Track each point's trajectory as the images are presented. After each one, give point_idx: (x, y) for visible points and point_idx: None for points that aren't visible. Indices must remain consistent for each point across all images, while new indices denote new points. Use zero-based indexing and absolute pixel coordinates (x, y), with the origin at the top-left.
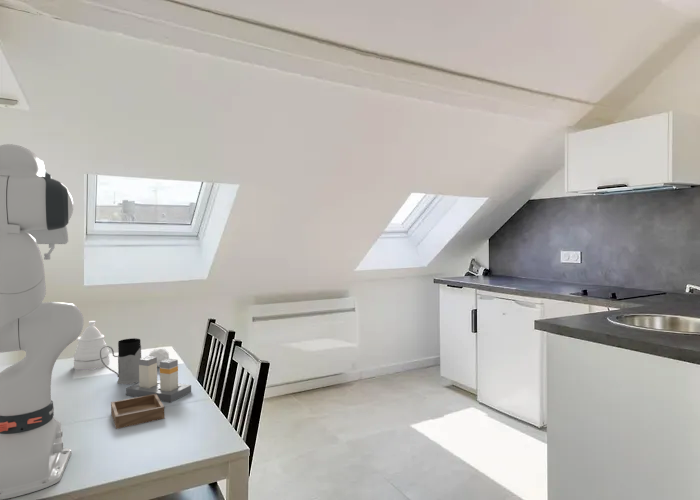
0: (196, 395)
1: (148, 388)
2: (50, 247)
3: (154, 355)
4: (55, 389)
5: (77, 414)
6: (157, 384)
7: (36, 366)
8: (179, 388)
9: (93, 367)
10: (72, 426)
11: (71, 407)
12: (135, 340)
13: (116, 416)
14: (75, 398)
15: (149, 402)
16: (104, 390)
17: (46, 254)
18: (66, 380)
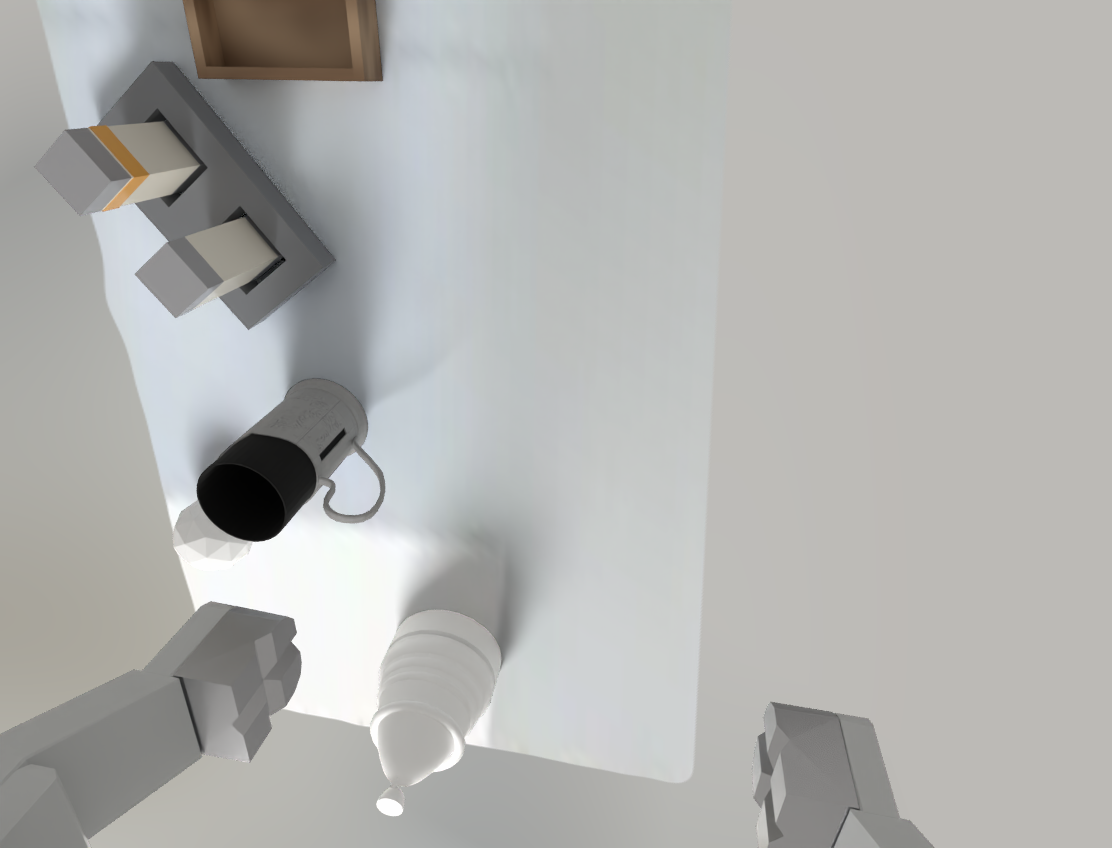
0: (81, 87)
1: (243, 217)
2: (23, 771)
3: None
4: (560, 474)
5: (495, 150)
6: None
7: None
8: None
9: (441, 613)
10: (513, 18)
11: (514, 245)
12: (225, 522)
13: None
14: (500, 337)
15: (239, 66)
16: (408, 363)
17: (204, 666)
18: (525, 545)
